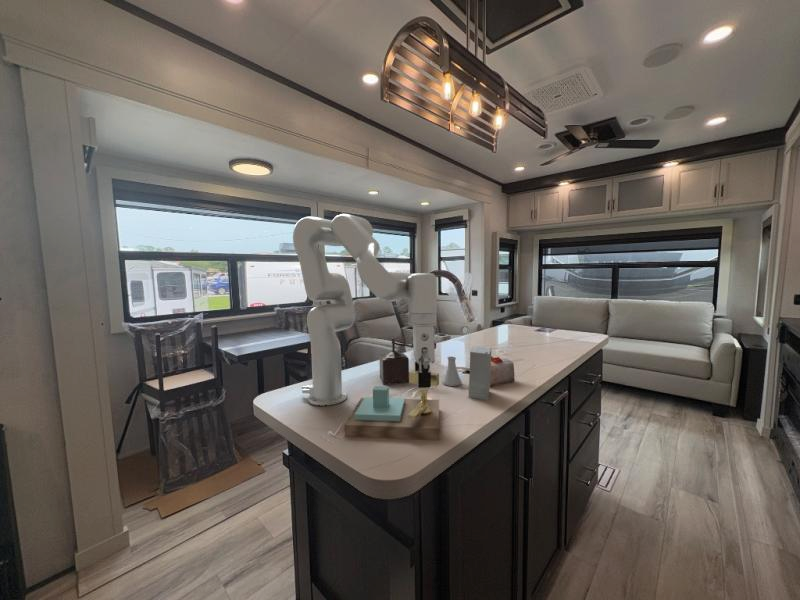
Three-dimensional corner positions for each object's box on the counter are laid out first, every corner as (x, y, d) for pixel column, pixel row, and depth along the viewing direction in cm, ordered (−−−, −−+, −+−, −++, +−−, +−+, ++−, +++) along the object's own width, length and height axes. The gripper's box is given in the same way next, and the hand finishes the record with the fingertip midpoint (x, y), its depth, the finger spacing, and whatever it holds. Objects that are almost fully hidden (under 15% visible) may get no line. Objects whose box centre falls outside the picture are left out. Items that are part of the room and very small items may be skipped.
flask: (461, 387, 113) (461, 360, 112) (441, 386, 115) (441, 359, 114) (461, 380, 120) (461, 355, 120) (442, 379, 122) (442, 354, 121)
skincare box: (471, 389, 111) (470, 345, 110) (492, 391, 108) (492, 346, 107) (467, 398, 103) (467, 350, 102) (490, 400, 100) (490, 352, 99)
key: (426, 428, 76) (426, 385, 75) (397, 422, 79) (396, 381, 78) (440, 410, 86) (440, 372, 85) (413, 406, 89) (413, 369, 88)
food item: (488, 389, 111) (488, 361, 110) (474, 382, 118) (473, 357, 117) (516, 382, 117) (517, 357, 116) (501, 377, 124) (501, 352, 123)
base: (344, 436, 79) (344, 424, 79) (361, 407, 97) (361, 397, 97) (439, 440, 76) (439, 428, 76) (438, 409, 94) (438, 399, 94)
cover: (354, 419, 82) (354, 395, 81) (365, 401, 94) (364, 380, 93) (400, 421, 80) (399, 396, 80) (404, 402, 92) (404, 381, 92)
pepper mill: (383, 385, 117) (382, 338, 116) (379, 376, 128) (378, 333, 126) (423, 381, 120) (422, 335, 119) (415, 373, 131) (415, 331, 130)
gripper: (441, 323, 75) (441, 392, 77) (431, 314, 93) (431, 371, 94) (410, 324, 75) (411, 393, 77) (406, 315, 92) (406, 371, 94)
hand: (422, 380), depth 85 cm, fingers open, 9 cm apart
